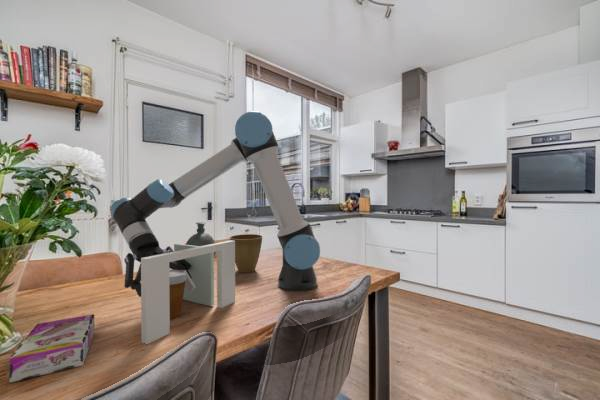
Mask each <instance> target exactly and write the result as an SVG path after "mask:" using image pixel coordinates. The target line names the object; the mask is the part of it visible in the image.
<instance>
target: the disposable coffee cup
mask: <svg viewBox="0 0 600 400" xmlns="http://www.w3.org/2000/svg"><path fill="white" fill-rule="evenodd" d="M187 277H188V276H187V275H186V272H185V271H182V270H173V269H169V294H170V319H175V318H176V317H179V316H180V315H181V311H182V307H183V306H182V305H183V300H184V299H183V294H184V288H185V282H186V280H187Z"/></svg>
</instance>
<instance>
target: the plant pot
mask: <svg viewBox="0 0 600 400" xmlns="http://www.w3.org/2000/svg"><path fill="white" fill-rule="evenodd" d="M230 240H232V241H235V267H236V268H237V271H238V273H243V274H247V273H248V274H249V273H253V272H255V271H256V270H255V269H256V267H257V265H258V261H259V259H260V255H261V254H260V253H261V248H262V243H263V235H261V234H255V233H254V234H253V233H251V234H249V233H244V234H237V235H232V236H229V241H230Z"/></svg>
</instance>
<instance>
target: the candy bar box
mask: <svg viewBox="0 0 600 400" xmlns="http://www.w3.org/2000/svg"><path fill="white" fill-rule="evenodd" d="M94 334H95V314H94V313H93V314H86V315H81V316H77V317H76V316H75V317H71V318H63V319H59V320H52V321H47V322H45V321H44V322H39V323H37V324H36V325H35V326H34V327H33V328H32V330H31V331H30V333H29V334H28V335H27V336H26V337H25V339H24V340H23V341H22V343H20V345H19V346H18V347H17V349H16V350H14V352H13V353H12V354H11V356H10V357H9V368H8V369H9V375H8V377H9V379H8V380H9V381H8V382H9V383H14V382H18V381H24V380H28V379H31V378H36V377H39V376H44V375H49V374H53V373H57V372H61V371H65V370H70V369H74V368H78V367H82V366H84V364H85V361H86V357H87V355H88V352H89V349H90V347H91V343H92V341H93V337H94Z"/></svg>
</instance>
